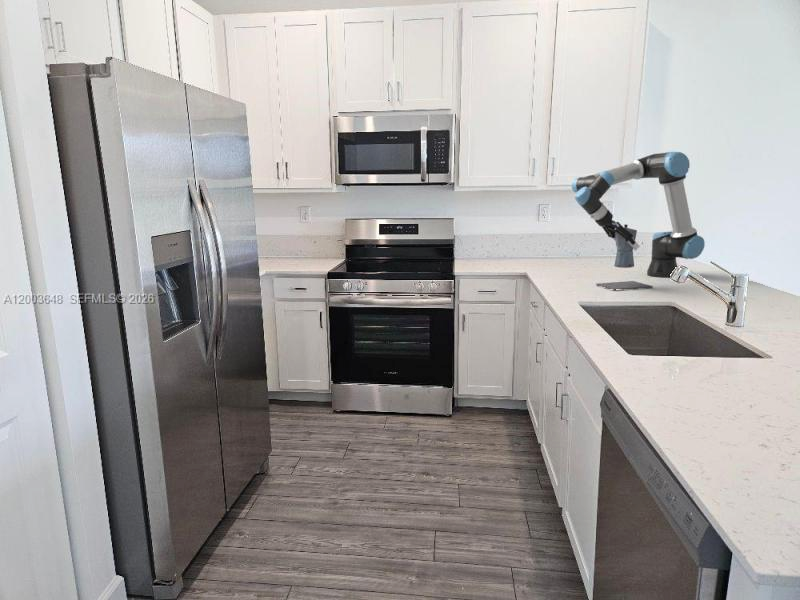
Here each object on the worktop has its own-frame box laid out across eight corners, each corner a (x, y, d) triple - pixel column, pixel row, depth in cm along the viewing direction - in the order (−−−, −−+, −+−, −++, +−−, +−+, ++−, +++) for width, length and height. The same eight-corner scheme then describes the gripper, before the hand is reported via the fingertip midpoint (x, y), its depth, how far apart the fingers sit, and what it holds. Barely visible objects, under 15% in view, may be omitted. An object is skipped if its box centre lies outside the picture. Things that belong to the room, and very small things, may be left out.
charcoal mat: (633, 282, 261) (633, 280, 260) (652, 288, 246) (652, 285, 246) (596, 285, 257) (596, 283, 257) (613, 290, 243) (613, 288, 243)
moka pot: (612, 268, 244) (615, 225, 240) (612, 264, 258) (615, 223, 254) (635, 268, 241) (637, 225, 237) (634, 264, 255) (636, 223, 251)
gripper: (583, 219, 254) (612, 250, 259) (608, 222, 232) (639, 255, 237) (594, 208, 254) (622, 239, 259) (620, 209, 231) (650, 243, 237)
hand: (630, 247), depth 248 cm, fingers closed on moka pot, 10 cm apart
